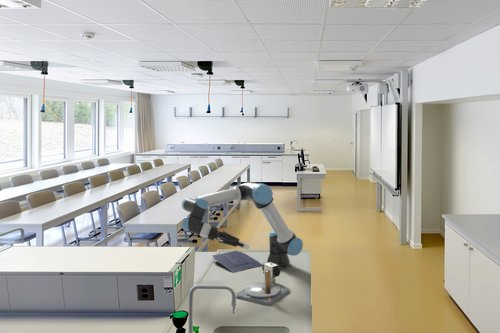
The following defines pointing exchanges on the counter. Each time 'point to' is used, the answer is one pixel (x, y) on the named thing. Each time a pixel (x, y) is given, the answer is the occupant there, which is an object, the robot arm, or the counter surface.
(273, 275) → the pneumatic valve
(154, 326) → the counter surface
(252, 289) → the peg stand
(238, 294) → the dial plate
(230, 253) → the dark blue flat panel
